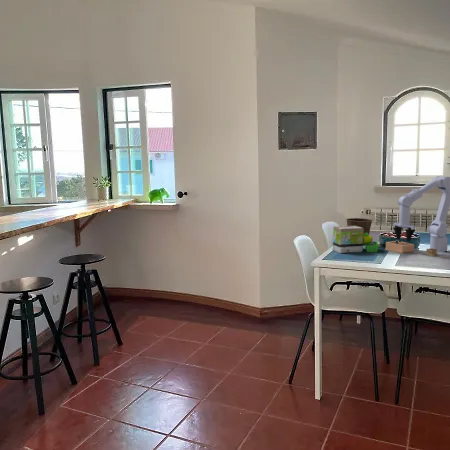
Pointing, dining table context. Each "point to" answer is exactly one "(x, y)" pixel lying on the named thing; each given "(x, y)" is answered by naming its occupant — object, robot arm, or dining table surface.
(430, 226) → the robot arm
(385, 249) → the slate tray
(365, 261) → the dining table surface
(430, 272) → the dining table surface
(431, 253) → the oak block
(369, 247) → the fruit basket
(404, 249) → the terracotta box
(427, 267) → the dining table surface
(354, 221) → the plant pot
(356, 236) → the tea box
